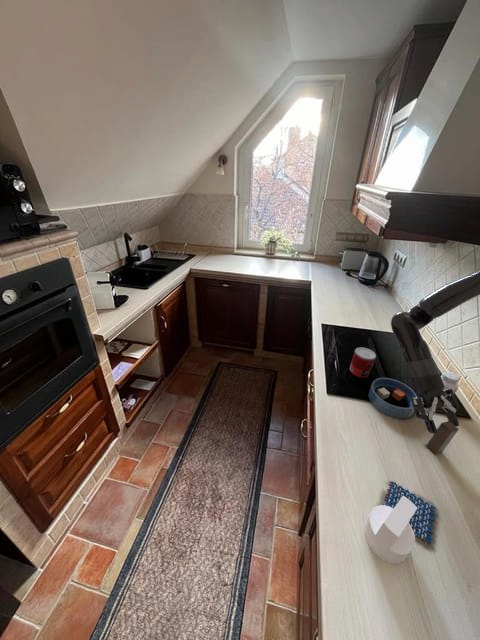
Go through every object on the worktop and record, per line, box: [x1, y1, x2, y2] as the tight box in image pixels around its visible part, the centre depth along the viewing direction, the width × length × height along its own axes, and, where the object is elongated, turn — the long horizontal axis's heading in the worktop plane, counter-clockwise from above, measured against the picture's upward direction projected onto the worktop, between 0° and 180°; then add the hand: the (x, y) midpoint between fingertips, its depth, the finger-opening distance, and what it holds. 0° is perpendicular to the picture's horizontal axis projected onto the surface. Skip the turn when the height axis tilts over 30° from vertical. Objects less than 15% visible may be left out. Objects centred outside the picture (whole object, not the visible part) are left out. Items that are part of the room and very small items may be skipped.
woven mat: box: [382, 480, 437, 545], centre depth 63 cm, size 10×11×2 cm
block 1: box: [375, 388, 391, 400], centre depth 96 cm, size 3×3×3 cm
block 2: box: [391, 389, 406, 402], centre depth 95 cm, size 3×3×3 cm
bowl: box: [367, 377, 419, 419], centre depth 93 cm, size 15×15×6 cm
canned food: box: [349, 346, 377, 379], centre depth 106 cm, size 8×8×11 cm
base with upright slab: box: [363, 496, 417, 565], centre depth 56 cm, size 9×9×12 cm
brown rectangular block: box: [425, 420, 459, 456], centre depth 75 cm, size 3×3×12 cm
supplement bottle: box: [441, 370, 460, 395], centre depth 93 cm, size 7×7×13 cm
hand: (444, 429), depth 74 cm, fingers open, 8 cm apart
